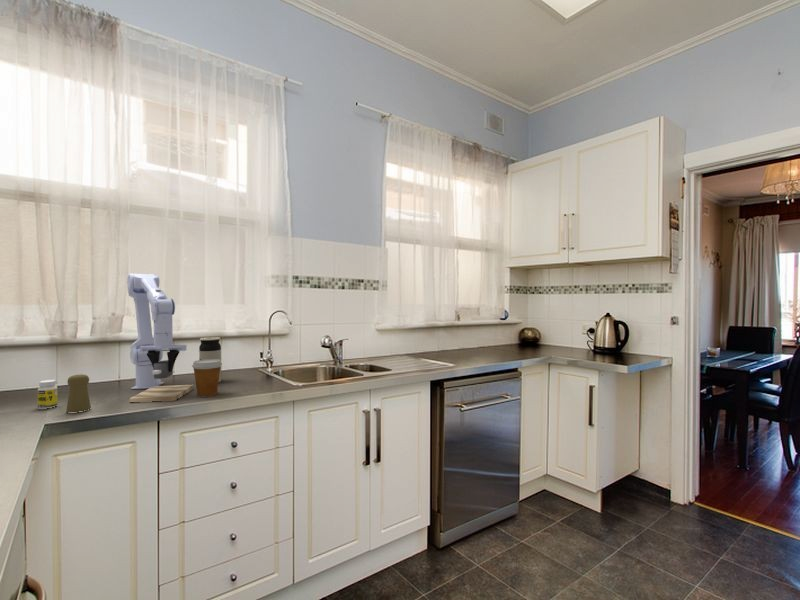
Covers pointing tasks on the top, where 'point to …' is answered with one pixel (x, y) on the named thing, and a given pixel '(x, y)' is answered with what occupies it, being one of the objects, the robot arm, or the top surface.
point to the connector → (161, 370)
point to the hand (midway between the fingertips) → (163, 371)
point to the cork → (78, 393)
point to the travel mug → (210, 350)
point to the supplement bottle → (47, 394)
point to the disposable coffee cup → (207, 376)
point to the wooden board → (162, 393)
